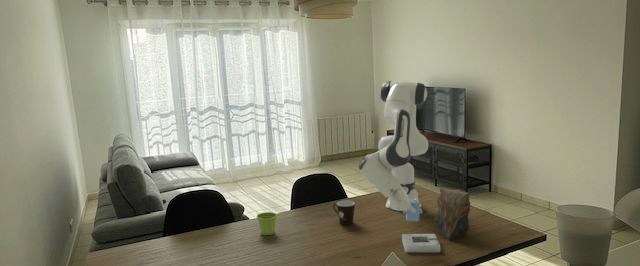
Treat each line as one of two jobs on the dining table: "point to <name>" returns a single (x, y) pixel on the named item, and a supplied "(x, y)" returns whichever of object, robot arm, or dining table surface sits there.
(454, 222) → the brown tall rough block
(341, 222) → the coffee mug
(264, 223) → the plant pot
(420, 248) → the chassis
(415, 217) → the servo
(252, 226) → the dining table surface
